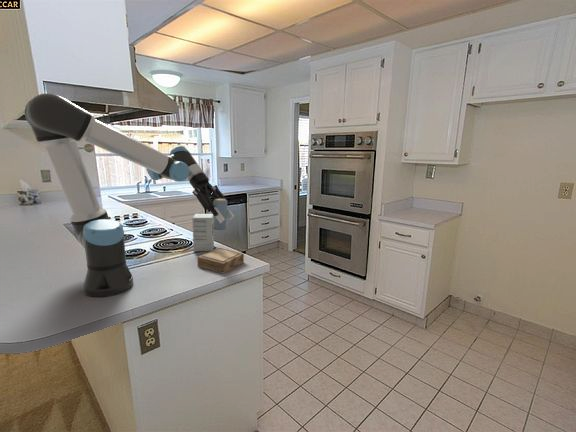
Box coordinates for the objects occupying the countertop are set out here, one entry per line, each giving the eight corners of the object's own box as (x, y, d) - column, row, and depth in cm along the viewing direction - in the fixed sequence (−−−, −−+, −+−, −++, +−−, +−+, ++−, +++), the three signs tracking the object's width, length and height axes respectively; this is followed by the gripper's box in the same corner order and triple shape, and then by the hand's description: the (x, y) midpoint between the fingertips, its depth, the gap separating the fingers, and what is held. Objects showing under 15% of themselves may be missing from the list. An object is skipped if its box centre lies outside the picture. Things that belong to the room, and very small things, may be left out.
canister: (221, 231, 124) (221, 201, 121) (210, 228, 126) (210, 199, 123) (229, 228, 129) (229, 199, 126) (219, 226, 131) (219, 197, 128)
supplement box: (212, 251, 146) (212, 217, 142) (193, 251, 144) (192, 217, 140) (214, 245, 155) (213, 213, 151) (195, 245, 153) (194, 213, 149)
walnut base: (223, 272, 122) (223, 263, 121) (197, 265, 128) (197, 256, 127) (243, 262, 134) (243, 253, 133) (219, 255, 140) (219, 247, 139)
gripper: (206, 181, 138) (235, 220, 135) (175, 184, 122) (207, 230, 119) (215, 170, 135) (245, 210, 131) (184, 172, 118) (217, 219, 115)
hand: (227, 219), depth 125 cm, fingers closed on canister, 6 cm apart
